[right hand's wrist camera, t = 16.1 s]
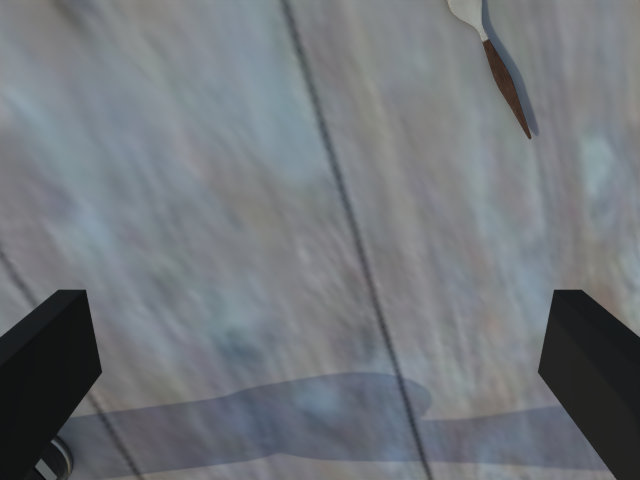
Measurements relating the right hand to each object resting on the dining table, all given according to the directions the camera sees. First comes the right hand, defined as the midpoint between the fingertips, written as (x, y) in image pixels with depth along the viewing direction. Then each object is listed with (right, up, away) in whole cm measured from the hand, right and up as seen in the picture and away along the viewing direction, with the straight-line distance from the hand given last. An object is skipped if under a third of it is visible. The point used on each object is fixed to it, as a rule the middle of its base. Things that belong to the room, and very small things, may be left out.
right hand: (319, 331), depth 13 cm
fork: (+14, +18, +24) cm, 33 cm away
